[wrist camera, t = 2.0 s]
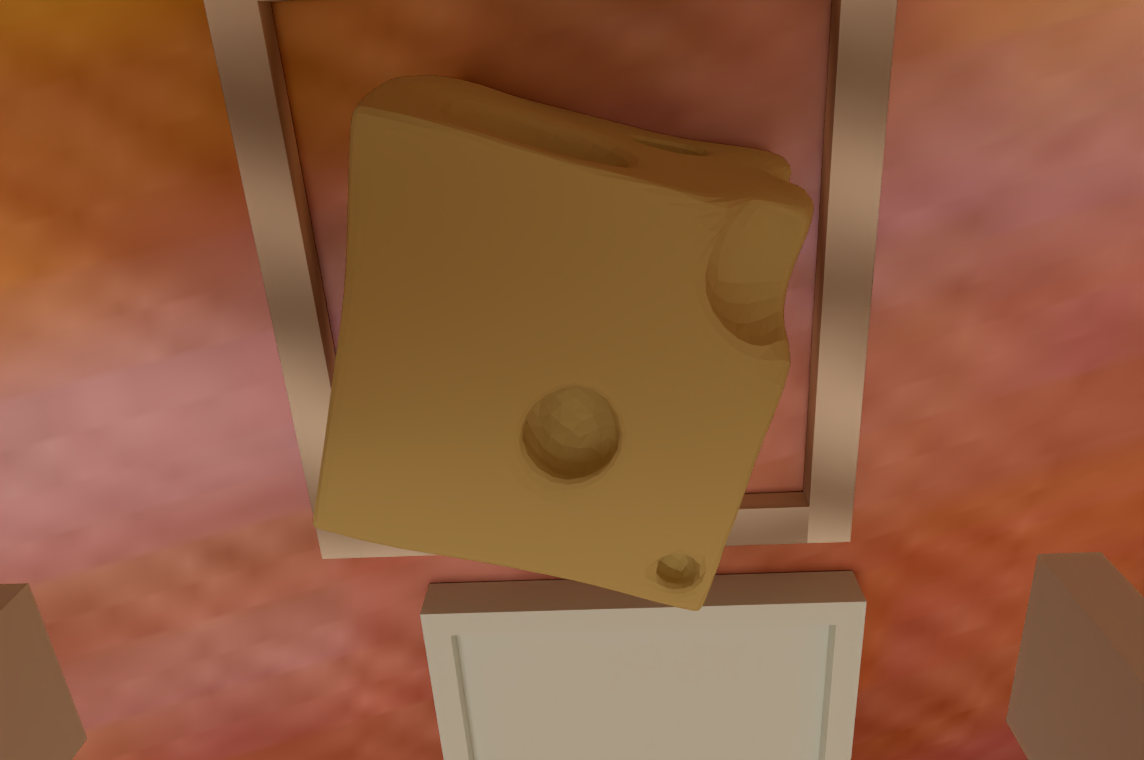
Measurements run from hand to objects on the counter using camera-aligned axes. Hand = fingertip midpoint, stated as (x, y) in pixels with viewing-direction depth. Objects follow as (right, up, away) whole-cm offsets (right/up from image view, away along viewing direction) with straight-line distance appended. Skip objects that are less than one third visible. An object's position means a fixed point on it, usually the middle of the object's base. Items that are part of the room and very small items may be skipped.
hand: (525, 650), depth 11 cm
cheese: (0, +7, +16) cm, 18 cm away
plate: (+4, -11, +24) cm, 26 cm away
